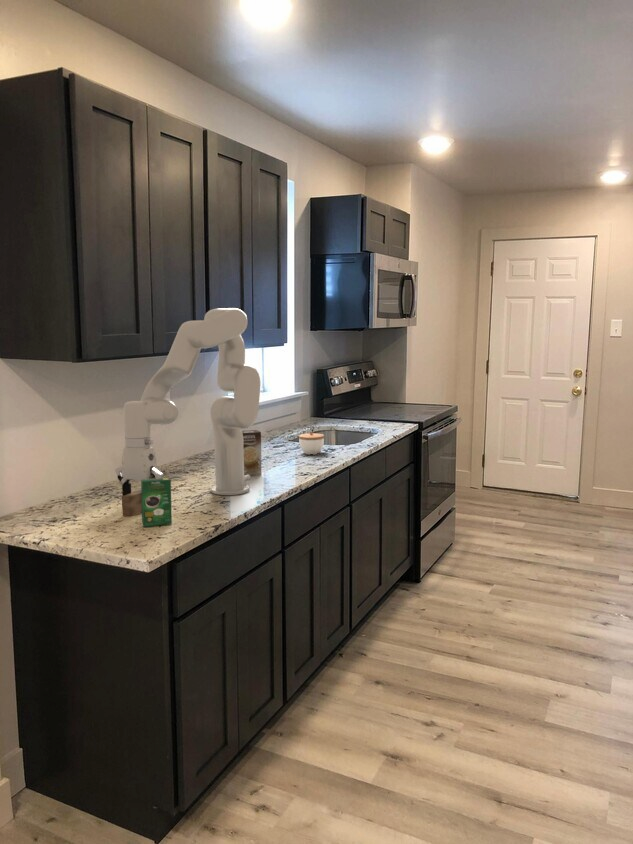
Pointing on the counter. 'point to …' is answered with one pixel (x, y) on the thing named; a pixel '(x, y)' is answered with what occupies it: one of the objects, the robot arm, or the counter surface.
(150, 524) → the coffee box
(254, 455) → the coffee box
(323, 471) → the counter surface
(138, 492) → the brown rectangular block
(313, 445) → the lidded jar
